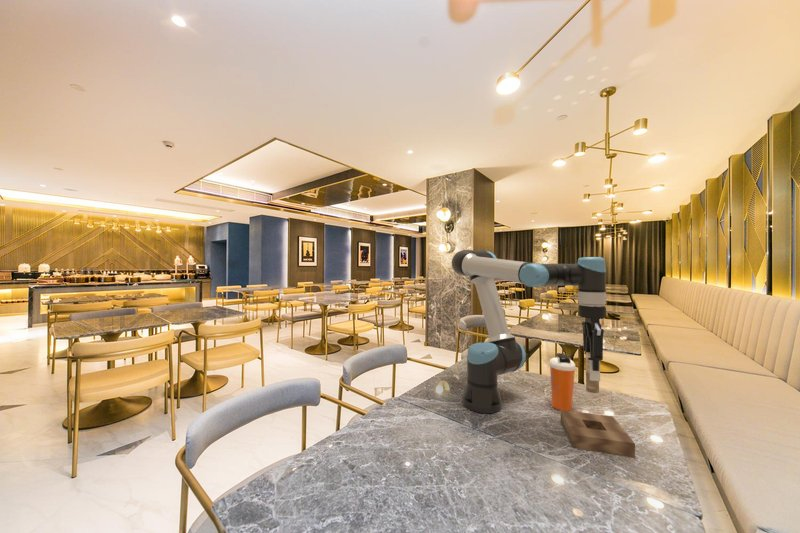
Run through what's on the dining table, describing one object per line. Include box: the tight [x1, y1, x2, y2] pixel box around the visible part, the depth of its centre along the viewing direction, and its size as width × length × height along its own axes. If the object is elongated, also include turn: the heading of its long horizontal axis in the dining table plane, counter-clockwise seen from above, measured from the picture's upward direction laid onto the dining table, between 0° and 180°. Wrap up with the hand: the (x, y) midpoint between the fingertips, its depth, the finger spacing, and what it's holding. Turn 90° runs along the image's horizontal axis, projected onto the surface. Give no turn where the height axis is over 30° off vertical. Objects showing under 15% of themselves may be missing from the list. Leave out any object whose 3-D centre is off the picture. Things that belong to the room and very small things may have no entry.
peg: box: [585, 352, 600, 394], centre depth 96 cm, size 4×4×12 cm
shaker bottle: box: [549, 352, 576, 411], centre depth 117 cm, size 9×9×20 cm
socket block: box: [560, 410, 636, 458], centre depth 97 cm, size 16×16×4 cm
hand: (592, 378), depth 96 cm, fingers closed on peg, 3 cm apart
